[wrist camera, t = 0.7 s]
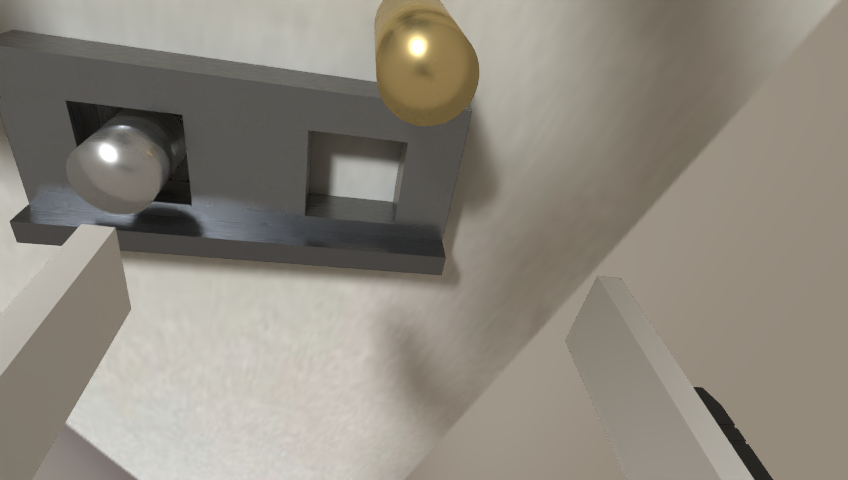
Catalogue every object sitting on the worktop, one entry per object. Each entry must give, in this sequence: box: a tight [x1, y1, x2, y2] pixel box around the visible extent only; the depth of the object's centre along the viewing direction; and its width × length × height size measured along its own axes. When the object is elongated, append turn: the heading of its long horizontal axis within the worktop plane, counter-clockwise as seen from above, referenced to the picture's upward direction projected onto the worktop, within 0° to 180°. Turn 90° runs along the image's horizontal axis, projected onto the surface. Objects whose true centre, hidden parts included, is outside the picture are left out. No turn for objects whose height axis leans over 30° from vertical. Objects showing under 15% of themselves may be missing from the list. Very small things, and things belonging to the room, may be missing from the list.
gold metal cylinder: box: [375, 0, 479, 126], centre depth 25 cm, size 4×4×10 cm
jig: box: [0, 30, 472, 275], centre depth 30 cm, size 11×26×5 cm, turn 80°
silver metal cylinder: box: [66, 108, 187, 215], centre depth 29 cm, size 4×4×6 cm
